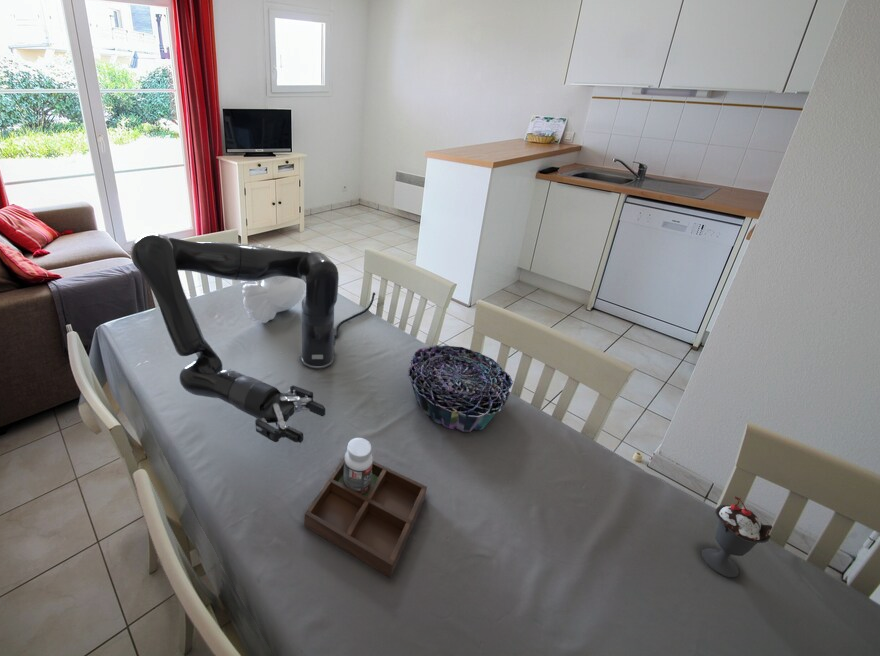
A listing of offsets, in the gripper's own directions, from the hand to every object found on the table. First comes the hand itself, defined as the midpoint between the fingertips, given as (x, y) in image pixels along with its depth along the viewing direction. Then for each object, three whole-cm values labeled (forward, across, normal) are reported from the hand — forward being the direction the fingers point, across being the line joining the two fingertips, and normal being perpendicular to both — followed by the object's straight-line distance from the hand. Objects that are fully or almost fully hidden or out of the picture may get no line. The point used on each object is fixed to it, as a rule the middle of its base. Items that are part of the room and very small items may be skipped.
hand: (314, 424), depth 90 cm
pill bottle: (+11, -1, +10) cm, 15 cm away
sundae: (+72, +19, +11) cm, 76 cm away
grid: (+15, -5, +10) cm, 19 cm away
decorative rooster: (-48, +46, +10) cm, 67 cm away
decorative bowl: (+21, +35, +11) cm, 42 cm away
